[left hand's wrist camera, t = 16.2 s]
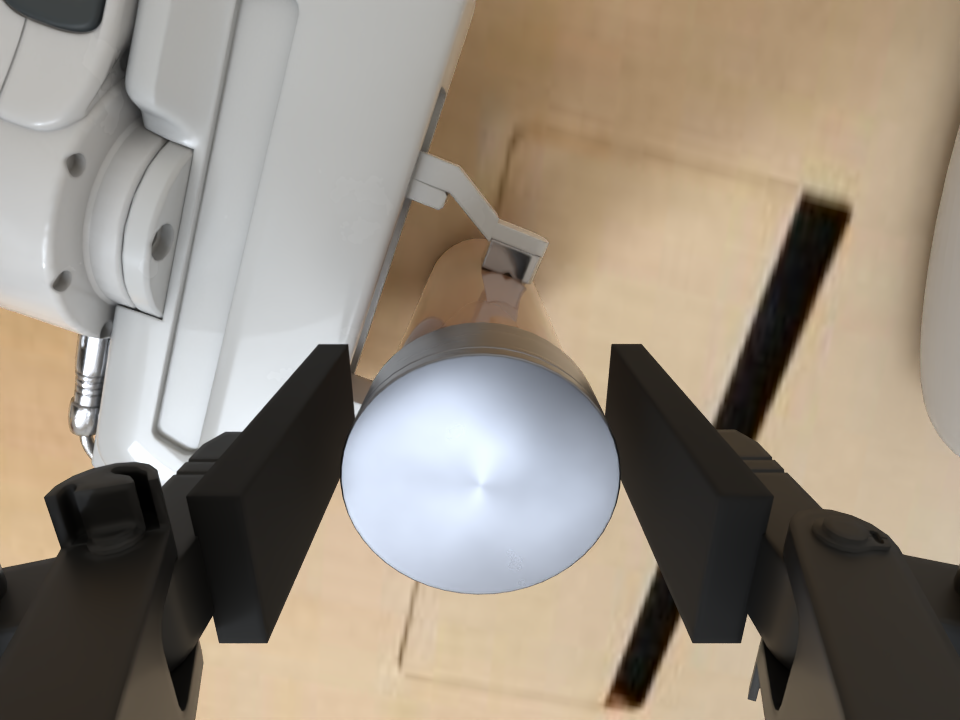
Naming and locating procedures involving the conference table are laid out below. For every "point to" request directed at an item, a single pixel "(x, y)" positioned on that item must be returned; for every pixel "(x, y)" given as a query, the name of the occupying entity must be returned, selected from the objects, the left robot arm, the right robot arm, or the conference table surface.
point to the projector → (944, 314)
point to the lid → (480, 461)
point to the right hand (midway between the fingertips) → (504, 342)
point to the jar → (476, 297)
